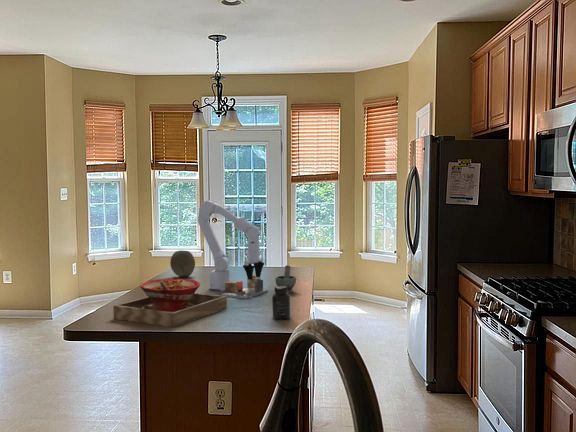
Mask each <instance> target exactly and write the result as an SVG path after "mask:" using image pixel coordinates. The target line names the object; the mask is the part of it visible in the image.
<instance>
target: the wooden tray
mask: <svg viewBox="0 0 576 432" xmlns="http://www.w3.org/2000/svg"><path fill="white" fill-rule="evenodd" d="M227 299H228V297H227V296H220V294H219V295H217V294H208V293H199V292H195V293H194V294H193V296H192V297H191V299H190V300H189V301H188V302H187V303H190V304H194V305H195V306H193V305H191V306H188V308H185V309H182V310H179V311H176V312H166V311H158V310H150V309H142V308H140V307H141V306H142V307H143V306H144V305H147V304H151V303H153V301H152V299H151V298H150V297H148V296H146V297H141V298H138V299H134V300H130V301H127V302H126V301H125V302H122V303H117V304H113V307H112V308H113V319H114V320H121V321H127V320H128V322H134V321H135V322H134V323H141V322H142V324H148V325H149V324H150V325H156V326H161V325H162V326H164V327H168V326H169V328H175V326H176V327H178V325H179V326H181V324H182V325H184V324H187V323H190V322H192V320H193V321H195V320H194V319H196V320H198V319H200V317H201V318H203V316H204V317H206V316H205V315H207V316H208V315H212V314H214V313H218V312H221V311H223V310H226V309H228V304H227V302H228V300H227ZM211 313H212V314H211ZM197 318H198V319H197ZM189 321H190V322H189ZM186 322H187V323H186Z"/></svg>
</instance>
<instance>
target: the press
mask: <svg viewBox="0 0 576 432" xmlns="http://www.w3.org/2000/svg"><path fill="white" fill-rule="evenodd" d="M243 291H245V294H244V295H246V293H249V292H251V294H252V297H258V296H260V295H263V294H265V293H268V289H267V288H264V280H263V279H262V278H261V279H257V280H256V281H255V288H247V287H246V288H245V287H243ZM233 294H235V292H234V293H233Z"/></svg>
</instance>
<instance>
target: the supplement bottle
mask: <svg viewBox="0 0 576 432" xmlns="http://www.w3.org/2000/svg"><path fill="white" fill-rule="evenodd" d="M287 292H288V290H287V287H286V286H277V285H276V286H275V287H274V294H273V295H272V297H271V298H272V299H271V300H272V302H271V303H272V305H271V306H272V307H271V308H272V309H271V311H272V318H273V319H274V320H278V321H286V320H289V319H290V318H291V296H290V294H289V293H287Z"/></svg>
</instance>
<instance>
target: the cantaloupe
mask: <svg viewBox="0 0 576 432" xmlns="http://www.w3.org/2000/svg"><path fill="white" fill-rule="evenodd" d="M194 257H195V256H194V255H193V254H192V253H191V251H189V250H182V249H181V250H176V251H175V252H174V253H173V254H172V255H171V257H170V263H169V264H170V268H171V270H172V272H173V273H174V274H175V275H176V276H178V277H180V278H188V277H190V276H191V275H192V274H193V272H194V270H195V267H196V260H195V258H194Z"/></svg>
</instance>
